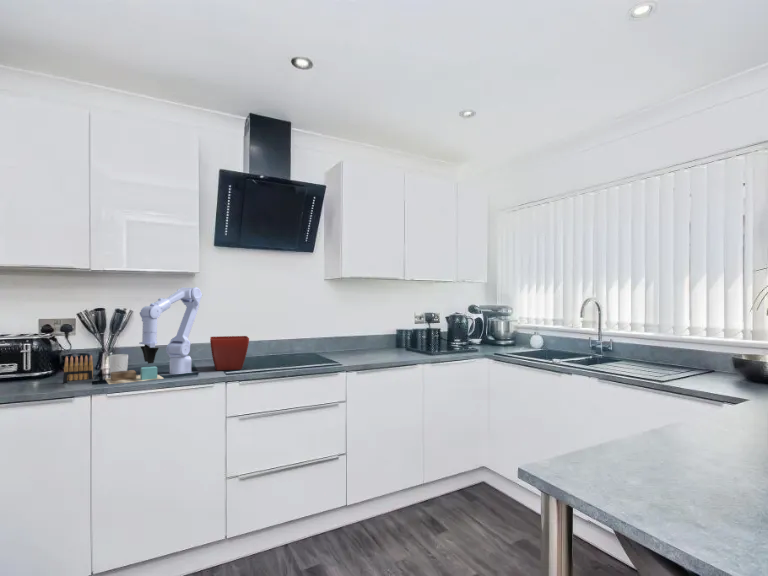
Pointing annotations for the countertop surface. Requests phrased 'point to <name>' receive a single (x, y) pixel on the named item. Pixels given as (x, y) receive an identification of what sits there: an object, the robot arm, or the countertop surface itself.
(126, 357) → the white cup
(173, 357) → the robot arm
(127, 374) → the walnut base block
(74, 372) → the ammunition clip
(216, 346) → the plant pot
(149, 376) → the teal brick
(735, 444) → the countertop surface
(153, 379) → the birch board
